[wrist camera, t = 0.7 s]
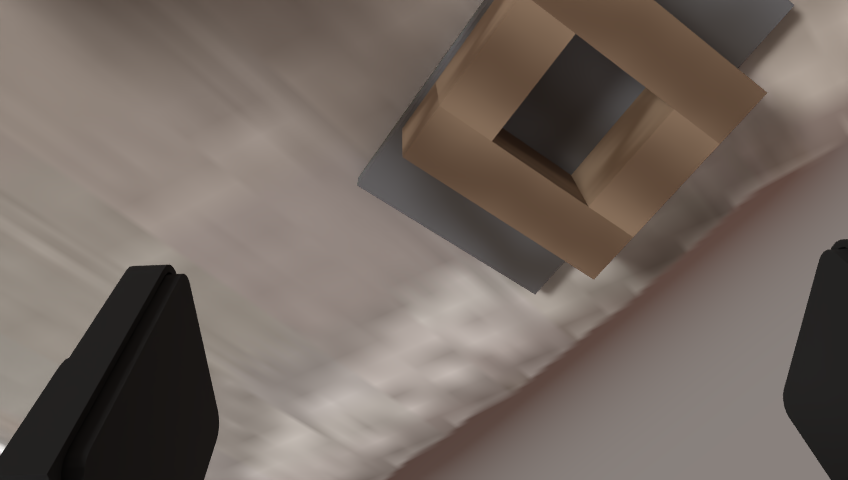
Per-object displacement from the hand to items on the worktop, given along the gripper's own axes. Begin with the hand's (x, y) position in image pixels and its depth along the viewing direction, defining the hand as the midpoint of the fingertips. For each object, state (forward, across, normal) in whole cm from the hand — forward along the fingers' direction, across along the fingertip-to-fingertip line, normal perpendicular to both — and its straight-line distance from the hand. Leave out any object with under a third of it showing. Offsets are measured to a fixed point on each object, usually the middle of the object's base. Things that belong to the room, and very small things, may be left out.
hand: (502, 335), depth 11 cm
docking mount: (+28, -6, +5) cm, 29 cm away
